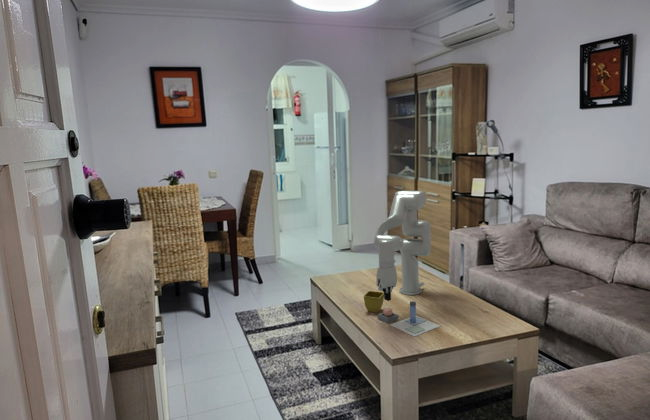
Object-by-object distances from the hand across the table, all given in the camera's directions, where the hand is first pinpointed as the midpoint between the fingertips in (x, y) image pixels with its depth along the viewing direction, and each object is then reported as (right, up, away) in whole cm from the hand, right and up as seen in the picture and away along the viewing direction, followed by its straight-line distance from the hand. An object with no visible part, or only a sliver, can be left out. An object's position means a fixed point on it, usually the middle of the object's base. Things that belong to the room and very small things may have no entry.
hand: (387, 299), depth 217 cm
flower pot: (-5, -9, +14) cm, 17 cm away
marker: (+12, -10, -4) cm, 16 cm away
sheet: (+12, -11, -7) cm, 18 cm away
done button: (0, -8, +1) cm, 8 cm away
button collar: (+1, -10, +2) cm, 10 cm away
